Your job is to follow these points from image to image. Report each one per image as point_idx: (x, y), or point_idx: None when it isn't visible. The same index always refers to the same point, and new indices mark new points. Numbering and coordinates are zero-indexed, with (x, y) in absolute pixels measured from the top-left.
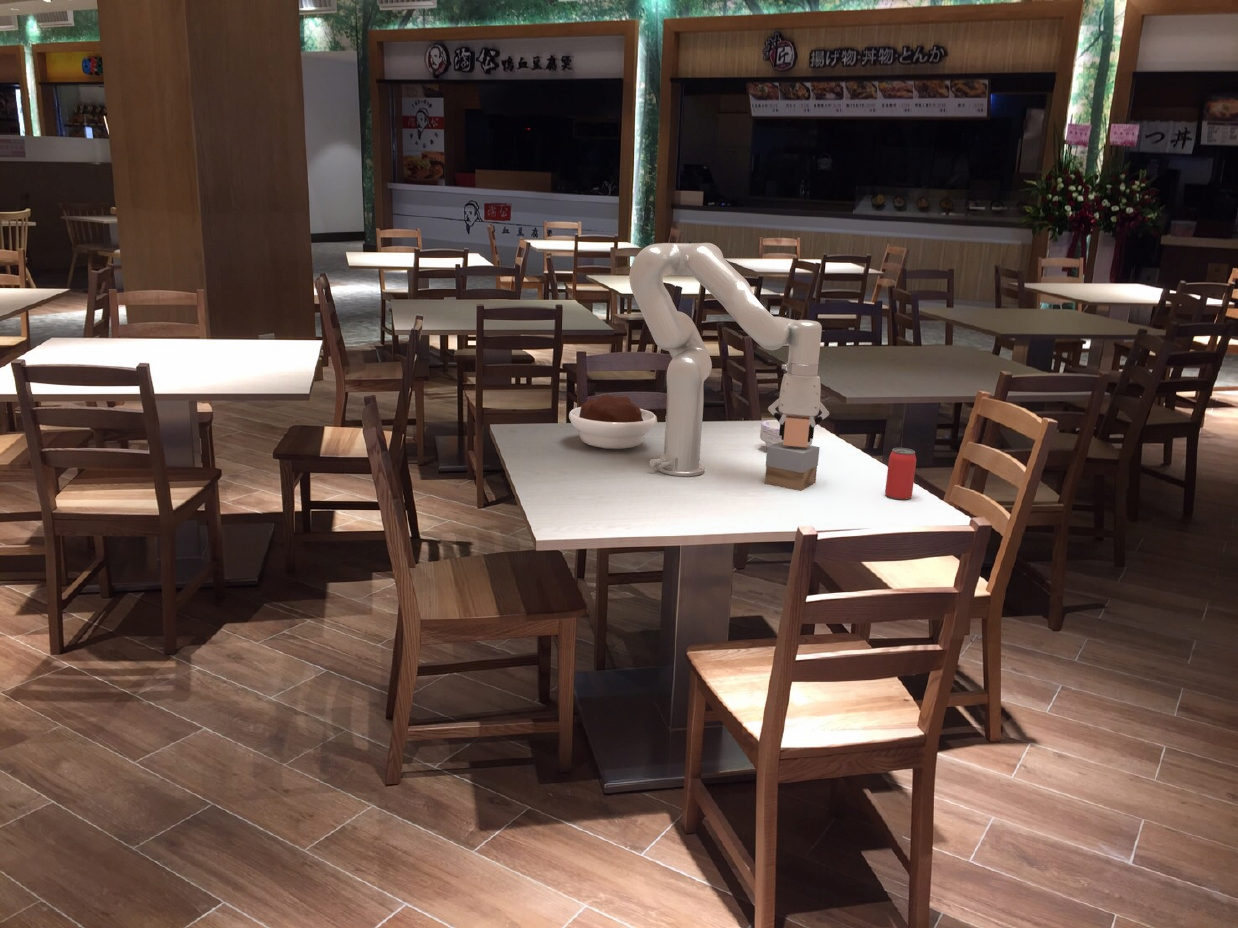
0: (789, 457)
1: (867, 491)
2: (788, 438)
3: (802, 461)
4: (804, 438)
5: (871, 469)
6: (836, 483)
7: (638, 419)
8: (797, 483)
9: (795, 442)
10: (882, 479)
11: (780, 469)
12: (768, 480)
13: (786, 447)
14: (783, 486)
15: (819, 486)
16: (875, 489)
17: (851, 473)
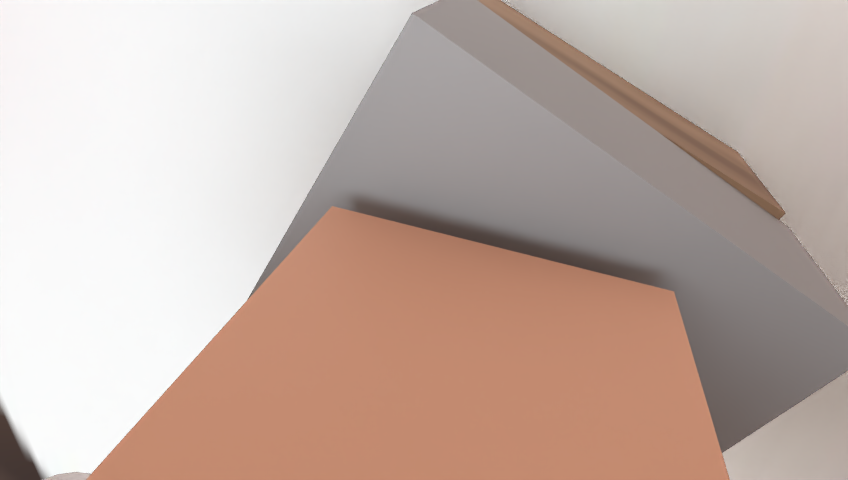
0: (589, 114)
1: (37, 61)
2: (609, 337)
3: (439, 3)
4: (333, 279)
5: (76, 458)
6: (219, 221)
7: None
8: (500, 11)
9: (489, 274)
10: (7, 314)
11: (654, 126)
12: (721, 146)
13: None
14: (604, 68)
15: (324, 138)
16: (4, 117)
17: (152, 403)
